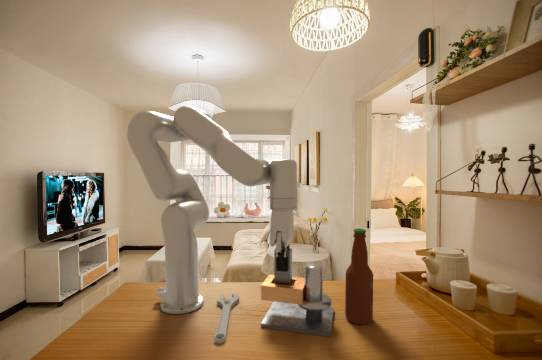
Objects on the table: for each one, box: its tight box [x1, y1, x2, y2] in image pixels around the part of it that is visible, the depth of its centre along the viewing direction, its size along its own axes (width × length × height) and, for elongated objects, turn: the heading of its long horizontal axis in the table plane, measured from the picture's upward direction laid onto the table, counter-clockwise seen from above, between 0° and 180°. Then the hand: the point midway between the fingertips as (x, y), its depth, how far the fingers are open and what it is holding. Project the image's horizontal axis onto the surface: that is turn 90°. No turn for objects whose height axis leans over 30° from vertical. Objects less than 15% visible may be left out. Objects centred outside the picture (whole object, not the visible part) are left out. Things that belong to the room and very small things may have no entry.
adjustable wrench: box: [214, 293, 240, 344], centre depth 84 cm, size 25×6×2 cm, turn 178°
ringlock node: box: [260, 263, 335, 338], centre depth 82 cm, size 19×14×15 cm
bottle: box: [344, 228, 374, 326], centre depth 82 cm, size 7×7×25 cm
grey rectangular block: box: [273, 247, 293, 286], centre depth 83 cm, size 4×2×11 cm, turn 75°
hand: (283, 268), depth 83 cm, fingers closed on grey rectangular block, 2 cm apart
